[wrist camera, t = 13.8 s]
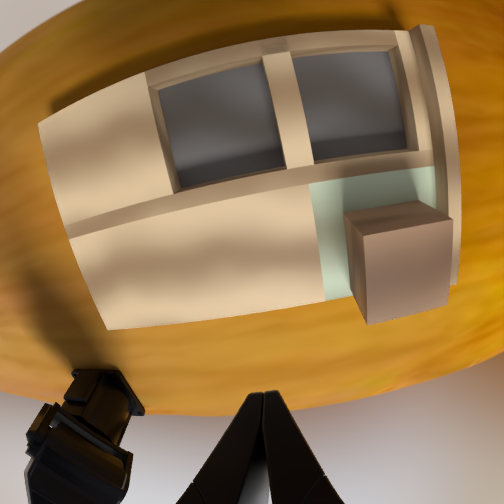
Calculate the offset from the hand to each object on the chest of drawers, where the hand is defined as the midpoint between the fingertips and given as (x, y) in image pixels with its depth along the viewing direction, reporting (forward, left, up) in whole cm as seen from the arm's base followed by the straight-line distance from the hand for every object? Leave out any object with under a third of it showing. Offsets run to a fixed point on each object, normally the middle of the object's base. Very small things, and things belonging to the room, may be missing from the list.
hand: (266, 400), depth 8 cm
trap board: (+4, +1, -13) cm, 13 cm away
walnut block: (-1, -7, -11) cm, 13 cm away
